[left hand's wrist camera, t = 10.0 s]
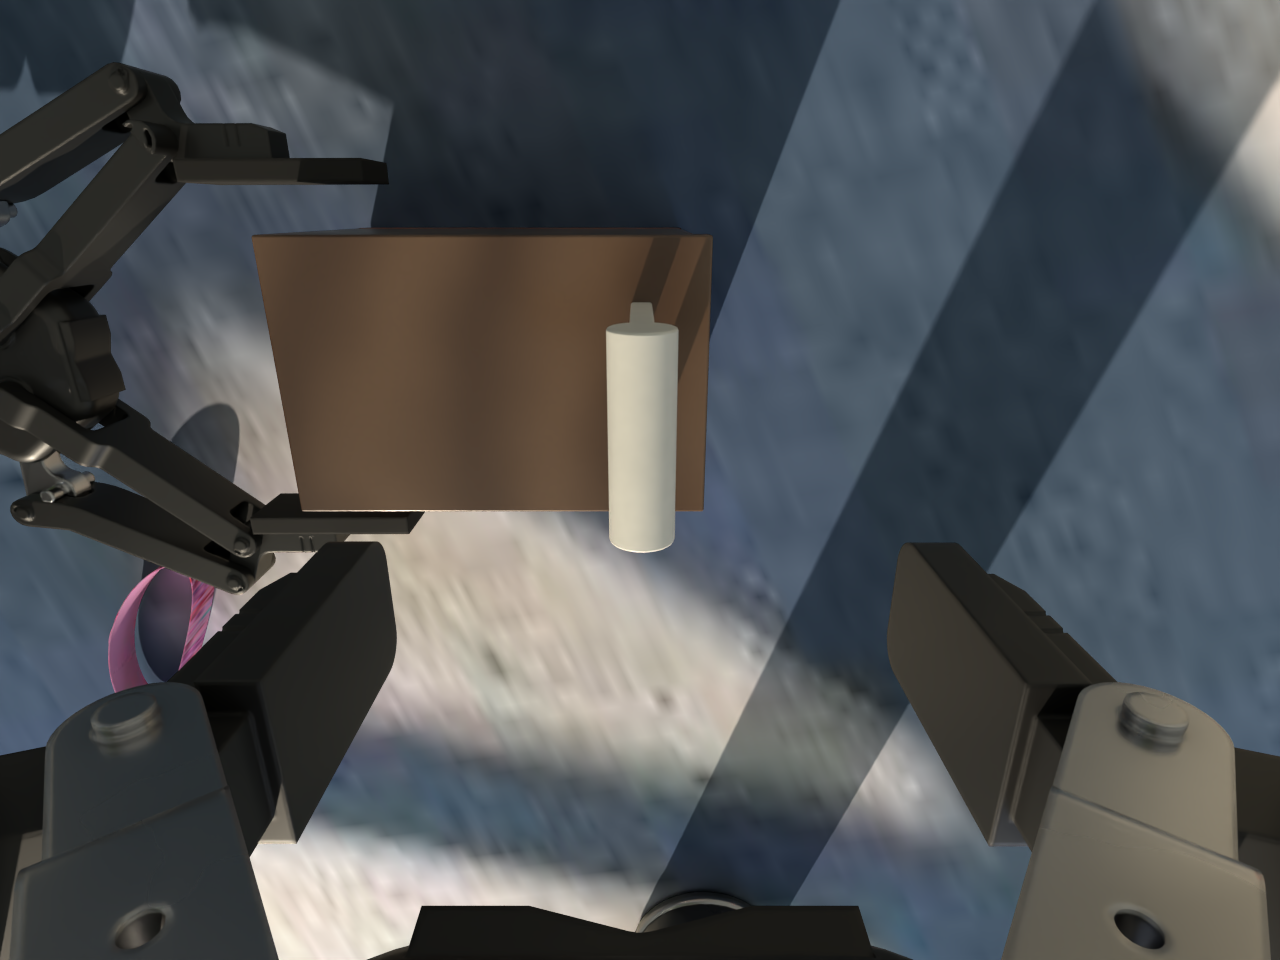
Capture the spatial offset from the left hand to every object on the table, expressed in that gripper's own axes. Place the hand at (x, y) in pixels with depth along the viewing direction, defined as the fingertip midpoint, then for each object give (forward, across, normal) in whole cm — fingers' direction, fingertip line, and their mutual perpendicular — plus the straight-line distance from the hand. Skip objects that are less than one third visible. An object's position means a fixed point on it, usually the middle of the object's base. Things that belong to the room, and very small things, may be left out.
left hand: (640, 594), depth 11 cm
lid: (+16, +5, 0) cm, 17 cm away
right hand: (+18, +10, 0) cm, 21 cm away
